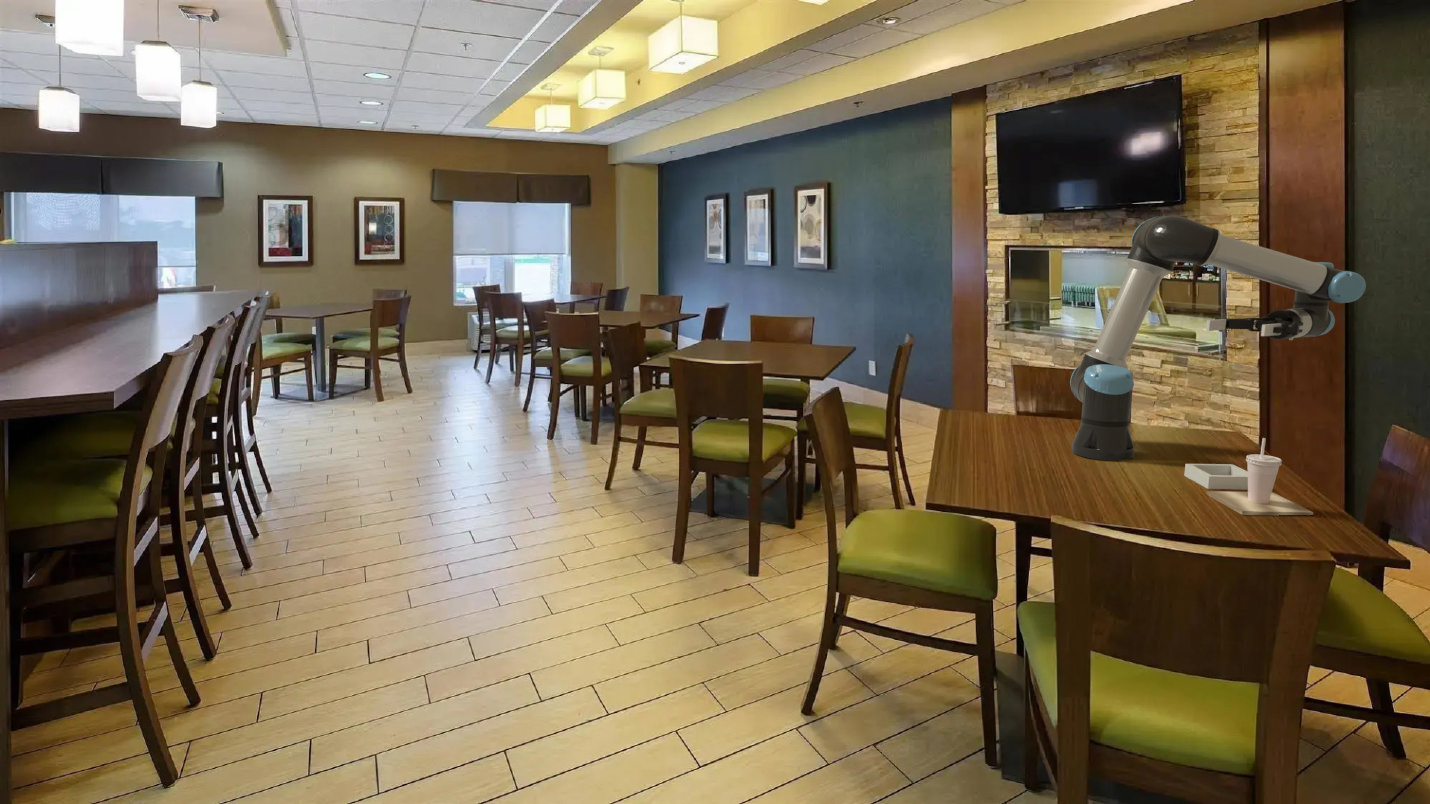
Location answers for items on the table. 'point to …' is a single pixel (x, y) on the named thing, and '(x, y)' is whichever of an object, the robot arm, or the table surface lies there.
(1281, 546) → the table surface
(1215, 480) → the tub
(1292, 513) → the board
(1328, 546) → the table surface
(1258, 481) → the smoothie
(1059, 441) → the table surface
